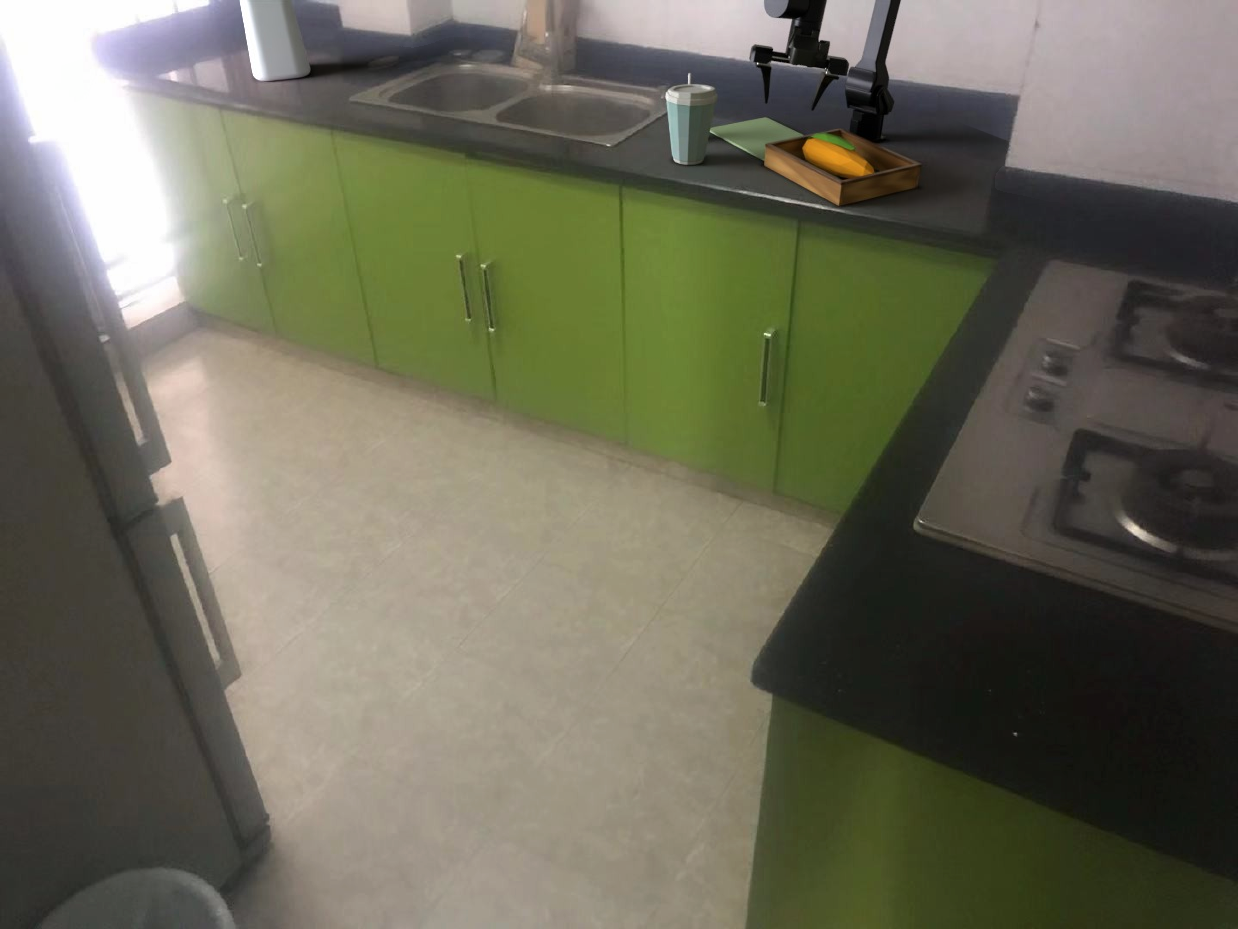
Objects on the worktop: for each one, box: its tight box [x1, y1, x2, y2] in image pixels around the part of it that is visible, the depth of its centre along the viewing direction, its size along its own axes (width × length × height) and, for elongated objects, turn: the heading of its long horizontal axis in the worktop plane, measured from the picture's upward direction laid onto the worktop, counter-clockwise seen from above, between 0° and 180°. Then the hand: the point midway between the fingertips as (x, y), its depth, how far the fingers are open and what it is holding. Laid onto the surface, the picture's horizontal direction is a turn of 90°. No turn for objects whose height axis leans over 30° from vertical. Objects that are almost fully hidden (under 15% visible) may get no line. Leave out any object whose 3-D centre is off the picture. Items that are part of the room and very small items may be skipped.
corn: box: [803, 132, 875, 179], centre depth 189 cm, size 7×8×20 cm
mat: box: [710, 116, 806, 162], centre depth 209 cm, size 16×24×1 cm, turn 27°
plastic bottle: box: [239, 0, 311, 82], centre depth 253 cm, size 15×15×28 cm
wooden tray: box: [763, 127, 922, 207], centre depth 190 cm, size 19×25×5 cm
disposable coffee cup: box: [664, 83, 719, 166], centre depth 196 cm, size 11×11×15 cm
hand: (789, 106), depth 187 cm, fingers open, 9 cm apart
